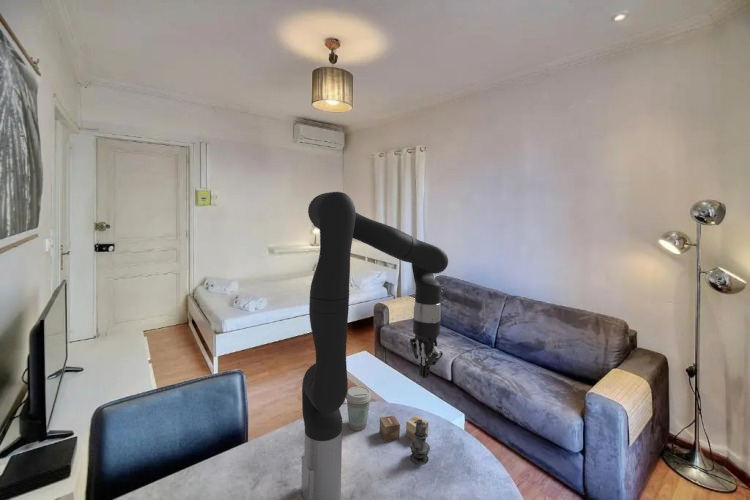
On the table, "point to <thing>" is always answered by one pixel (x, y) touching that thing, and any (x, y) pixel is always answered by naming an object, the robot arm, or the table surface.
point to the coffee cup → (358, 407)
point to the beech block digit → (414, 426)
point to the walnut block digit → (389, 428)
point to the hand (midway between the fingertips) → (424, 376)
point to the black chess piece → (420, 445)
